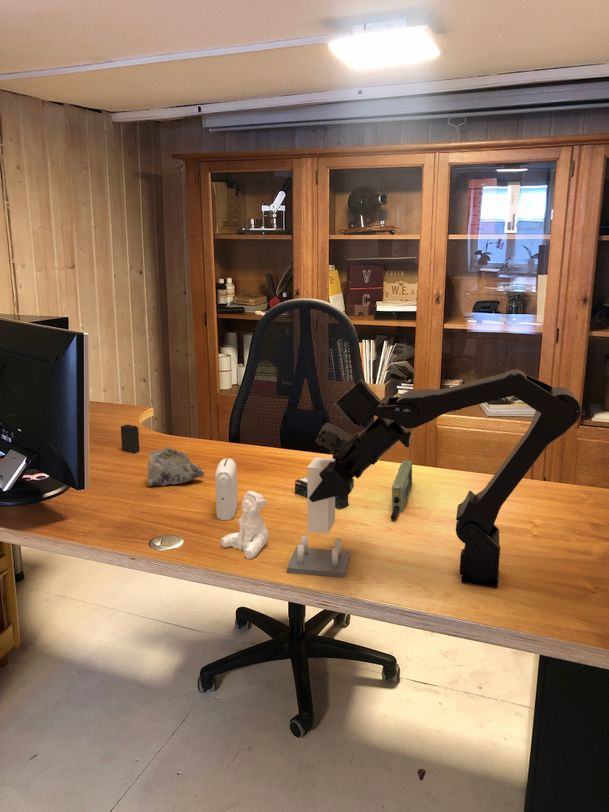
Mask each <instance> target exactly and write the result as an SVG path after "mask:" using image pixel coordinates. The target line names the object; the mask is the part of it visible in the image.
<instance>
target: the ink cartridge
mask: <svg viewBox="0 0 609 812" xmlns="http://www.w3.org/2000/svg"><path fill="white" fill-rule="evenodd" d="M120 434H121V435H120V436H121V451H122V452H125V453H129V454H136V453H139V452H140V451H141V450H140V436H139V427H138V426H137V425H133V424H124V425H122V426H121V425H120Z"/></svg>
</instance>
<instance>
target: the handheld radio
mask: <svg viewBox="0 0 609 812" xmlns="http://www.w3.org/2000/svg"><path fill="white" fill-rule="evenodd" d="M397 470H398V471H397V474H396V475H395V476H396V477H395V478H394V481H393V484H392V486H391V504H392V505H391V510H392V511H391V512H392V513H391V515H390V520H392V521H395V520H397V518H398V514H399V513H401V514H402V513H403V512H404V509H405V506H406V504H407V501H408V498H409V495H410V493H411V489H412V486H413V462H412V461H411V460H402V462H401V464H400V465H399V468H398V469H397Z"/></svg>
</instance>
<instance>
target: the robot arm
mask: <svg viewBox="0 0 609 812" xmlns="http://www.w3.org/2000/svg"><path fill="white" fill-rule="evenodd" d="M509 397H514V398H516V399H518V400H520V401H521V402H523V403H524V404H526V405H528V406H529V407H530V408H531V409H533V410H535V412H534V415H533V417H532V419H531V422H530V425H529V427H528V429H527V430H526V431H525V433H524V434H523V436H522V437H521V438H520V440H519V441H518V442H517V444H516V445H515V447H514V448H513V449H512V451H510V453H509V454H508V456H507V457H506V458H505V460H504V462H503V463H502V464H501V465H500V467H498V469H497V471H496V472H495V473H494V475H493V476H492V477H491V479H490V480H489V482H488V483H486V486H485V487H484V488H483V489H482V490H481V491H479V492H478V493H474V492H473V491H472V490H468V492H467V494H466V496H465V499H463V501H462V502H461V503H459V504H458V505H457V509H456V517H455V520H456V525H455V533H456V536H457V537H458V540H460V541H461V542H462V544H463V543H464V546H463V549H461V552H460V559H459V572H458V573H459V575H460V576H461V579H460V582H461V583H462V584H468V585H474V586H481V587H486V588H487V587H488V588H494V589H497V588H498V587H499V580H500V571H501V570H500V559H501V545H500V528H498V527H497V526H496V524H495V523H496V520H497V519H498V515H499V513H500V511H501V508H502V506H503V505H504V503H505V502H506V501H507V499H508V498H509V497H510V495H511V494H512V493H513V491H514V490H515V489H516V488H517V486H518V485H519V484H520V482H521V481H522V480H523V479H524V477H525V475H527V473H528V472H529V471H530V469H531V468H532V466H533V465H534V464H535V463H536V462H537V460H538V459H539V457H541V455H542V454H543V452H544V451H545V449H546V448H547V447H548V445H550V444H551V443H553V442H554V441H556V440H557V439H558V438H560V437H561V436H563V435H564V434H565V433H566V432H567V431H569V430H570V429H571V428H572V427H573V426H574V425H575V424H576V423H577V422H578V421H579V420H580V419H579V418H580V417H581V413H582V411H581V410H582V409H581V405H580V403H579V401H578V399H577V398H576V395H575V394H574V393H573V392H572V391H571V390H570V389H569V388H567V387H562V386H556V387H554V386H551V384H548V383H547V382H544V381H541V380H540V379H538V378H535V377H532V376H530V375H528V374H526V373H525V372H524V371H522V370H521V369H517V368H516V369H510V370H508V371H506V372H503V373H499V374H496V375H492V376H488V377H484V378H481V379H477V380H476V379H475V380H473V381H468V382H465V383H461V384H457V385H454V386H450V387H446V388H440V389H437V388H436V389H435V388H434V389H433V388H432V389H430V388H429V389H428V388H426V389H425V388H424V389H417V390H416V389H414V390H411V389H410V390H407V391H404V392H403V393H401V395H400V396H390V397H389V396H388V397H382V399H381V398H379V396H378V395H377V394H376V393H375V392H374V391H373V390H372V389H371V388H370V387H369V385H368V384H367V383H366V381H365V380H364V379H360V380H358V382H357V383H356V384H355V385H353V386H352V387H350V388H349V389H348V390H347V391H345V393H344V394H342V395H341V397H339V399H337V400H336V401H335V402H334V405H335V406H336V408H338V409H339V410H340V411H341V413H342V414H343V415H345V417H346V418H347V419H348V420H349V421H350V422H351V423H352V424H353V425H354V426H362V427H364V426H365V425H367V424H368V423H369V422H370V421H371V420H372V419H373V418H374V417H375V416H376V417H377V418H376V419H374V420H373V421H372V422H371V423H370V424H369V425H368V426H367V427H365V429H363V430H362V431H360V432H356V433H355V434H353V435H352V434H349V433H348V432H347V431H345V430H343V428H340V427H338V426H336V425H334V424H332V423H329V422H326V423H325V424H323V425H322V427H321V429H320V431H319V433H318V435H317V437H316V439H315V443H316V444H317V445H318V446H320V447H324V448H326V449H328V450H329V451H332V452H333V454H332V459H335V462H330V463H328V464H327V465H326V466H325V467H324V468H323V469H322V471H321V472H320V473H319V475H320V477H321V478H322V481H321V482H320V484H319V485H318V486H317V488H316V489H315V490H314V492H313V493H312V494H311V496H310V497H309V499H310V500H311V502H316V501H319V500H323V499H327V498H331V497H336V496H339V497H340V498H341V499H344V498H345V497H346V496H347V495H348V496H349V495H350V494H351V493H352V491H353V489H354V487H355V479H354V478H356V479H359V478H360V477H361V476H362V475H363V473H364V472H365V471H366V470H367V469H368V468H370V467H371V466H372V465H373V466H374V465H375V464H376V463H377V462H378V461H379V459H380V458H381V457H382V456H383V455H384V454H386V452H388V451H389V450H390V449H391V448H392V447H394V445H396V444H397V443H398V442H400V443H401V444H402V445H403V446H404V447H406V448H409V447H410V445H411V443H412V433H413V430H412V429H416V428H418V427H421V426H422V425H425V424H427V423H429V422H432V421H433V420H435V419H437V418H438V417H440V416H442V415H445V414H447V413H450V412H453V411H457V410H461V409H462V410H463V409H465V408H468V407H469V408H470V407H472V406H479V405H481V404H485V403H490V402H494V401H497V400H501V399H505V398H509Z"/></svg>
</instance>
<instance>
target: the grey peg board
mask: <svg viewBox="0 0 609 812" xmlns="http://www.w3.org/2000/svg"><path fill="white" fill-rule="evenodd" d="M308 538H309V537H308V535H302V536H301V544H297V546H296V547H295V549H294V552H293V553H292V556H291V557H290V560H289V562H288V564H287V567H286V573H288V574H299V575H310V576H321V577H323V576H324V577H333V578H344V579H345V577H346V574H347V571H348V568H349V567H348V566H349V564H350V563H349V562H350V559H351V554H352V552H351V550H342V538H339V537H336V538H335V539H334V547H332V548H331V549H326V548H316V547H315V548H313V547H309V545H308V544H309V540H308Z"/></svg>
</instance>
